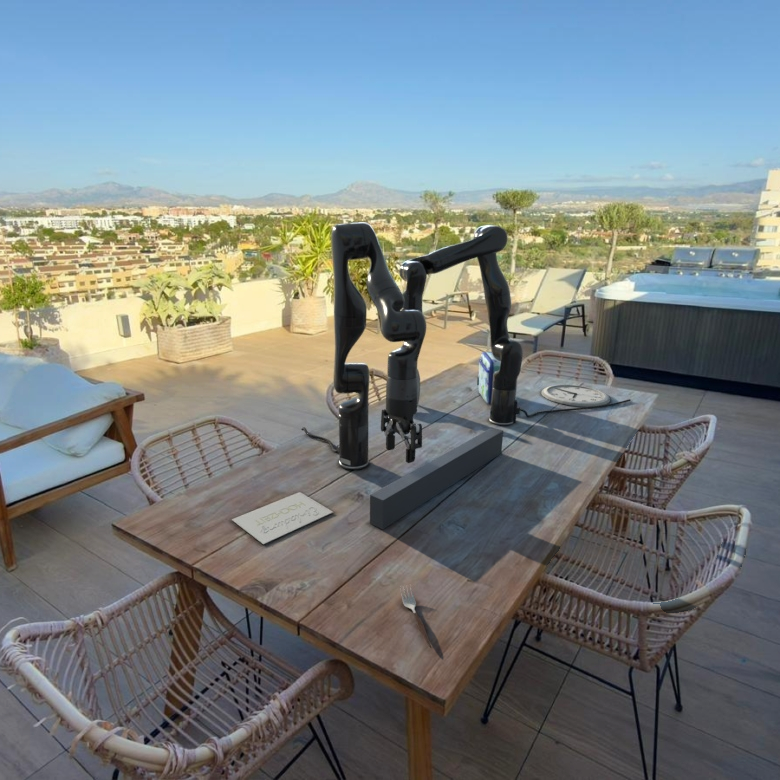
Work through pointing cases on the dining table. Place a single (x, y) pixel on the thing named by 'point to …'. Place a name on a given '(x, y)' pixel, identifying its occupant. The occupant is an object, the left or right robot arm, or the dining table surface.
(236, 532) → the dining table surface
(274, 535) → the invitation card
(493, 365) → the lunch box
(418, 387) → the toy gun
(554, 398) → the wall clock
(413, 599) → the fork
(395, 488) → the bar
